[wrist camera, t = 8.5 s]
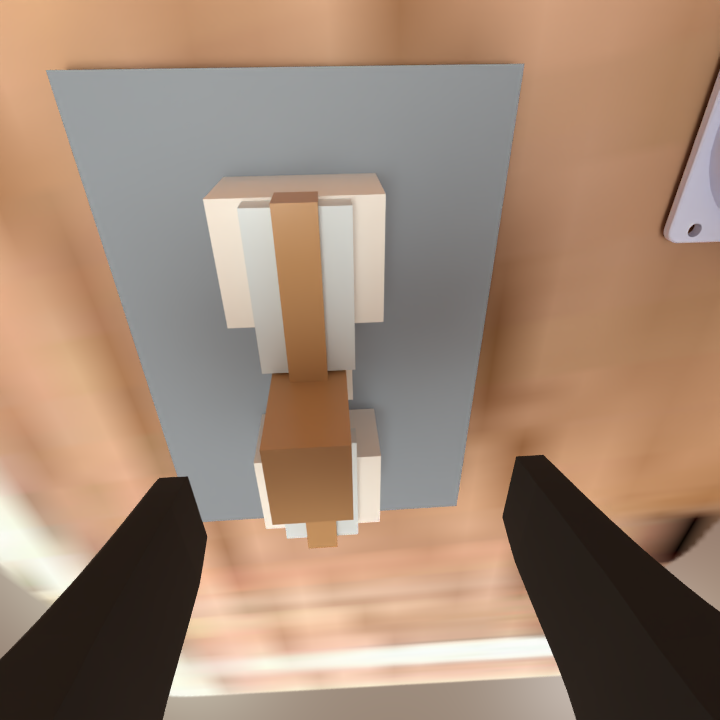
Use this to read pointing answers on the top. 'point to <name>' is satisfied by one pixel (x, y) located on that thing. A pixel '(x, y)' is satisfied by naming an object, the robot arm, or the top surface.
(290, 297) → the brown and white bar
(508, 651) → the top surface
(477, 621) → the top surface
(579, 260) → the top surface
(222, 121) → the display stand
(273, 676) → the top surface
